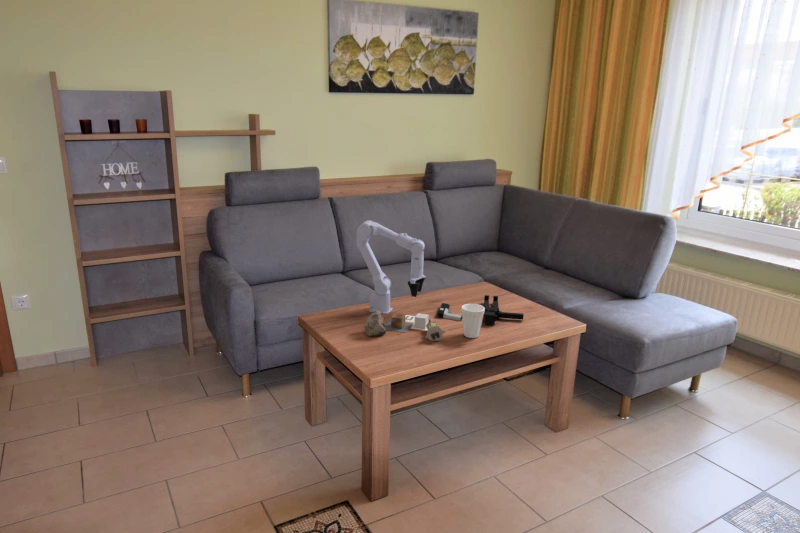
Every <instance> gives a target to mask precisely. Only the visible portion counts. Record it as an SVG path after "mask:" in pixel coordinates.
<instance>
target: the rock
mask: <svg viewBox="0 0 800 533" xmlns="http://www.w3.org/2000/svg"><path fill="white" fill-rule="evenodd" d="M385 322H386V321H385V318H384V317H383V316H382V313H380V311H378V310H375V311H374V312H371V314H370V315H369V316H368V318H367V319H366V320H365V325H364V333H365V334H366V335H367V336H368V337H374V336H378V337H379V336H380V337H383V336H384V335H386V333H387V330H386V328H385V327H386V326H385V325H386V323H385Z"/></svg>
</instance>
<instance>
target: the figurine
mask: <svg viewBox="0 0 800 533" xmlns="http://www.w3.org/2000/svg"><path fill="white" fill-rule="evenodd" d="M437 324H438V323H437V321H434V320H433V321H432V320H431V318H430V317H429V318H428V324H427V325H426V327H427V329H428V330H427V331H426V335H425V339H427V340H429V341H431V342H432V341H434V342H435V341H437V342H438V341H440V340H441V339H442V338H443V334H445V333H446V332H445V329H441V327H440V326H439V325H437Z"/></svg>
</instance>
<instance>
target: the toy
mask: <svg viewBox="0 0 800 533" xmlns="http://www.w3.org/2000/svg"><path fill="white" fill-rule="evenodd" d="M483 307H484V308H485V311H484V315H483V319H484V325H490V326H491V325H492V326H494V325H495V321H499V319H510V320H513V319H514V320H524V317H525V316H524V313H520V312H518V313H517V312H506V311H502V310H500V308H499V296H498V295H493V299H492V306H490V295H488V294H485V295H484V300H483Z"/></svg>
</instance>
